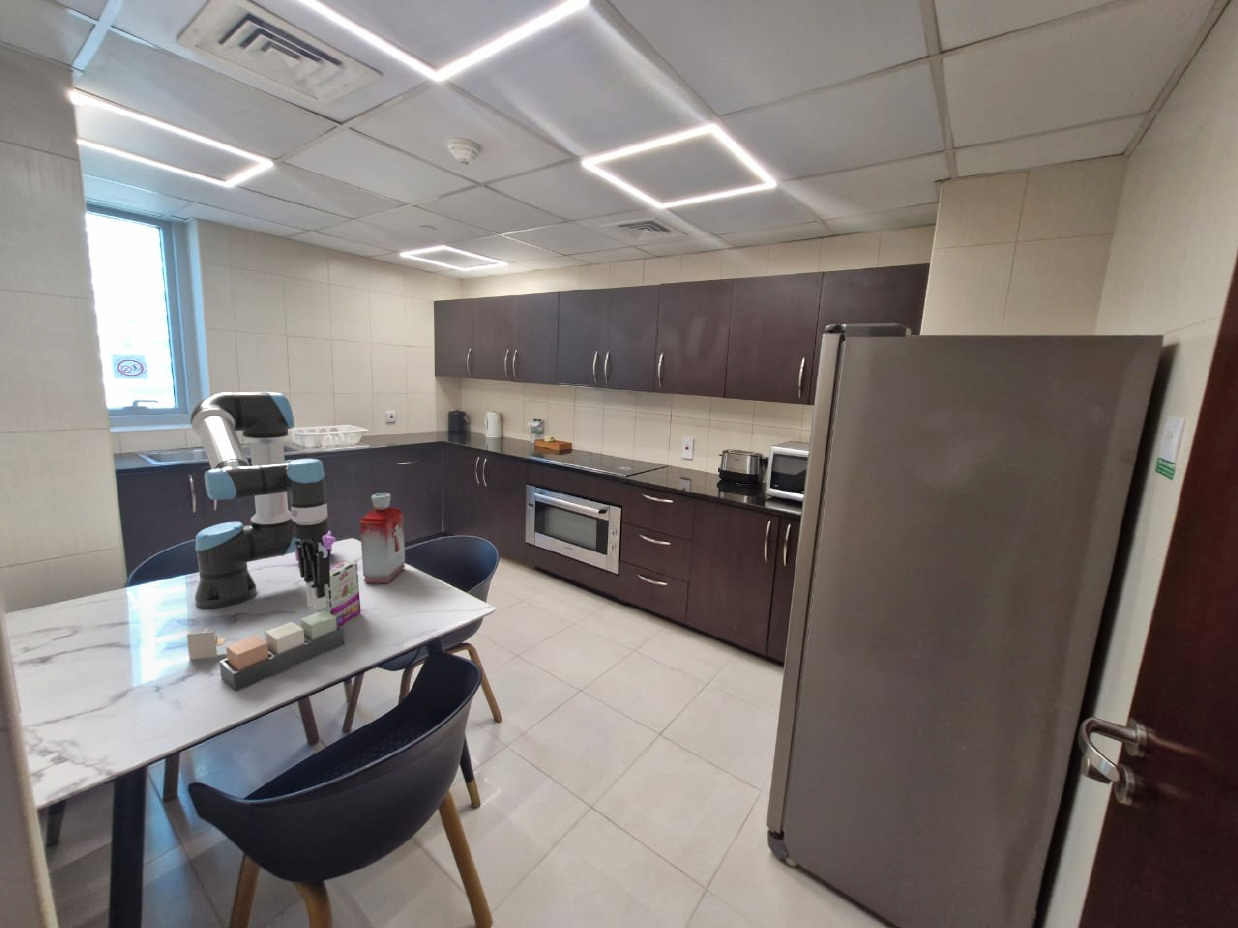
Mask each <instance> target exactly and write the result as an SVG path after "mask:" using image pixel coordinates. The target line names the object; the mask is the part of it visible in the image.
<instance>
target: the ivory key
mask: <svg viewBox="0 0 1238 928" xmlns="http://www.w3.org/2000/svg"><path fill="white" fill-rule="evenodd" d="M264 635H265V642H266V643H267V647H268V650H269V651H270V652H271V653H273V654H274V655H278V654H280V653H282V652H285V651H287V650H290V649H292V648H295V647H297V646H300V645H302V644H304V631H303V629H302V628H301V626H299V625H297V624H296V623H294V622H293V621H291V622H288V623H285V624H282V625H280V626H278V627H275V628H272V629H269V630H267V631H264Z"/></svg>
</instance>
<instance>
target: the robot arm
mask: <svg viewBox="0 0 1238 928" xmlns="http://www.w3.org/2000/svg"><path fill="white" fill-rule="evenodd" d="M190 424H191V428H192V430H193V432H194V433H195V434H196V435H198V436H199V437H200V440H201V442H202V445H203V448H204V451H205V454H206V456H207V460H208V463H209V466H210V469H208V470H206V471H205V473H204V483H205V489H206V495H207V497H208V498H209V499H210V500H213V501H218V500H219V501H220V500H233V499H240V498H247V497H248V498H249V497H254V502H255V504H254V505H255V514H254V515H253V516H252V517H250V524H248V525H244V524H243V523H242V522H241V521H227V522H222V523H218V524H217V523H216V524H214V525H211V526H208V527H206V528H203V529H201V530H200V531H199V532H198V533H197V534H196V536H195V548H194V549H195V551H196V554H197V561H198V562H197V563H198V571H199V580H198V581H199V582H198V585H197V587H196V588H197V589H196V592H195V595H194V600H195V605H196V606H197V607H199V608H202V609H216V608H217V609H219V608H224V607H229V606H233V605H238V604H240V603H242V602H245V601H247V600H249V599H251V598H253V597H254V596H255V595H256V594H257V592H258V591H257V584H256V582H255V581H254V579H253V577H252V575H251V573H250V571H249V570H248V569H249V568H248V563H249V562H255V561H259V560H264V559H271V558H276V557H283V556H286V555H288V554H292V553H295V551H297V555H298V568H299V574H300V575H299V576H300V578H302V579H303V581H304V582H305V587H306V588H305V589H306V598H307V599H306V602H307V607H308V608H311V607H313V610H314V611H318V609H321V608H324V607H326V594H325V585H326V584H329V583H330V568H331V567H330V566H331V565H330V564H331V563H330V561H331V560H330V558H331V552H332V551H330V549H327V550H326V549H325V548H324V542H323V539H322V538H323V536H324V535H326V534H327V533H328V531H329V526H328V525H329V521H328V519H327V518H328V506H327V501H326V500H327V497H326V483H325V476H326V473H325V471H324V464H323V461H322V460H319V459H316V458H302V459H288V460H285V451H284V450H285V448H284V447H285V446H284V440H285V438H287V437H288V436H289V430H291V429H294V427H295V416H294V413H293V409H292V406H291V403H290V401H289V399H288V397H287V396H286V395H285V394H283V393H281V392H275V391H274V392H272V391H243V392H242V391H240V392H239V391H238V392H237V391H236V392H234V391H233V392H231V391H224V392H223V391H222V392H217V393H214V394H211V395H210V396H209V395H208V396H207V397H206V398H204V399H202V400H201V401H200V402H199V403H198V404H197V405H196V406H194V409H193V410H192V412H191V414H190ZM236 432H242V437H243V438H244V439H246V440H247V441H248V442H249V446H250V458H251V459H250V460H251V465H250V463H249V461H248V459H247V456H246V453H245V452H244V450H243V449H244V448H243V447H242V444H241V441H240V439H239V437H238V436H237V433H236ZM288 492H289V496H290V497H289V498H290V508H291V509H290V510H289V502H288V501H289V500H288Z"/></svg>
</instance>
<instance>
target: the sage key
mask: <svg viewBox="0 0 1238 928" xmlns="http://www.w3.org/2000/svg"><path fill="white" fill-rule="evenodd" d="M299 620H300V621H299V623H300V627H301V628H302V629H303V631H304V637H305V638H307V639H309V640H310V641H312V640H314V639H317V638H319V637H322V636H324V635H326V634H329V633H331V632H334V631H336V630H337V626H336V617H335V616H334V615H332V614H330V613H328V612H326V611H325V610H323V611H320V612H318V611H317V612H316V613H313V614H309V615H307V616H304V617H302V618H299Z"/></svg>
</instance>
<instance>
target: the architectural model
mask: <svg viewBox="0 0 1238 928" xmlns="http://www.w3.org/2000/svg"><path fill="white" fill-rule="evenodd" d="M207 630H208V629H207V628H206V629H205V630H203V632H195V633H187V634H186V637H187V643H188V647H187V648H188V655H189V660H190V661H196V660H202V659H212V658H213V659H214V658H217V657H218V652H217V651H218V650H217V647H218V646H223V645H224V643H225V642H226V641H227V640H228V637H222V638H221V637H220V638H219V637H218V636H215V631H207Z"/></svg>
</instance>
